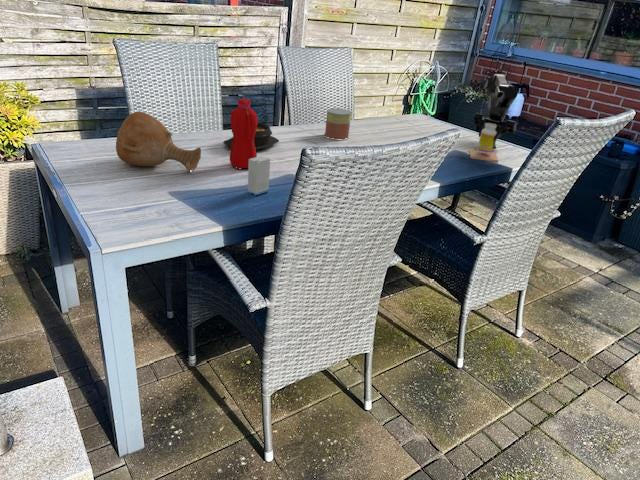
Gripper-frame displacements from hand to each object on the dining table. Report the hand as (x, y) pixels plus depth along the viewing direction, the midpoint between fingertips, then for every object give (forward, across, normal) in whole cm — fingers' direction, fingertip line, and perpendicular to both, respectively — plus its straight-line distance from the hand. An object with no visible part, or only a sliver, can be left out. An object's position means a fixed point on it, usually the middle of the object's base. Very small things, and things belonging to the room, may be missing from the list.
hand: (486, 138), depth 224 cm
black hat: (+56, -76, -44) cm, 105 cm away
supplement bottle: (+4, 0, +6) cm, 7 cm away
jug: (+88, -80, -77) cm, 141 cm away
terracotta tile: (+5, 0, +7) cm, 9 cm away
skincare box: (+81, -39, -70) cm, 114 cm away
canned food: (+27, -61, -14) cm, 68 cm away
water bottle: (+71, -60, -60) cm, 110 cm away
